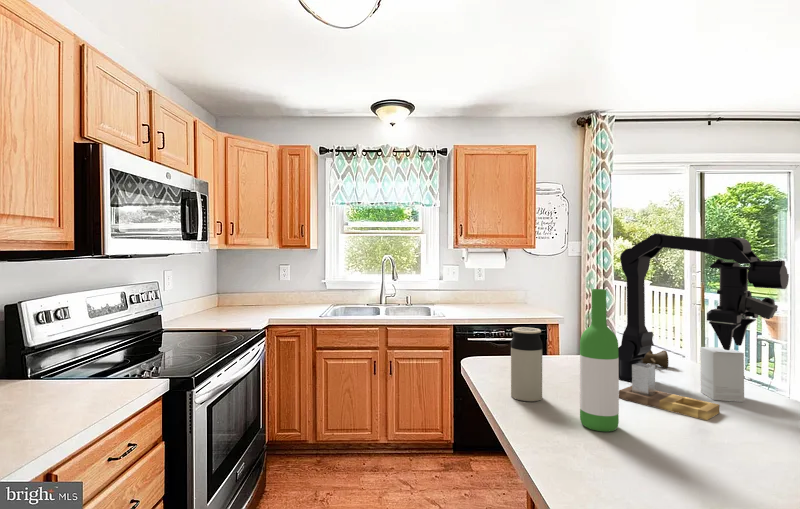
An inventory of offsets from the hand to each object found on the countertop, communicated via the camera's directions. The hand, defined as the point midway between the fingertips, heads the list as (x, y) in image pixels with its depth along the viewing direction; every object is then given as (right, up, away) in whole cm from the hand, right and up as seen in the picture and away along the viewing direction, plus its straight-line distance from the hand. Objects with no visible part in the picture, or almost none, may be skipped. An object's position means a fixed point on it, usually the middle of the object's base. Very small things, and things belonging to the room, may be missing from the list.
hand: (732, 347), depth 112 cm
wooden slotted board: (-18, -14, -2) cm, 23 cm away
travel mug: (-51, -14, +4) cm, 54 cm away
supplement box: (+1, -14, +5) cm, 15 cm away
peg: (-21, -14, +2) cm, 26 cm away
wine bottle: (-41, -14, -16) cm, 46 cm away
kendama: (+2, -15, +41) cm, 44 cm away
